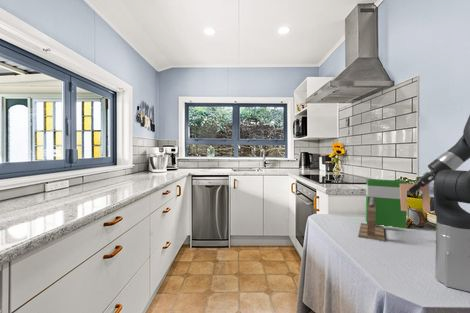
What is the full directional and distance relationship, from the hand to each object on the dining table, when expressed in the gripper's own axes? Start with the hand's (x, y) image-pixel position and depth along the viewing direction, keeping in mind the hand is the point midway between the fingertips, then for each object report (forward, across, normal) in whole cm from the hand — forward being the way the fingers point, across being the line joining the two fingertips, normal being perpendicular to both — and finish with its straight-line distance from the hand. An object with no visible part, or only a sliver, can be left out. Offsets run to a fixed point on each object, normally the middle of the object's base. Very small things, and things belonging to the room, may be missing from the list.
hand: (410, 191), depth 104 cm
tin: (+10, +33, -17) cm, 38 cm away
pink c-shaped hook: (+5, 0, -7) cm, 9 cm away
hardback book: (+20, +23, -7) cm, 31 cm away
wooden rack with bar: (+26, +3, -4) cm, 26 cm away
